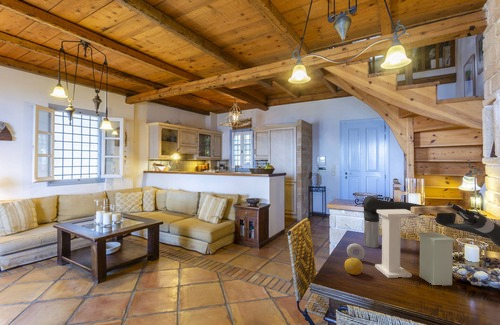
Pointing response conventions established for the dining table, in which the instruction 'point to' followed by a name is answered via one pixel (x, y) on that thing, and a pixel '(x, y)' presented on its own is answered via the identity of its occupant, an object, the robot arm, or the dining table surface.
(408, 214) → the tall stand
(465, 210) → the robot arm
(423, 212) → the wooden bar
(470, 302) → the dining table surface
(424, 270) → the green post
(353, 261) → the fruit
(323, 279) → the dining table surface
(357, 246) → the donut
